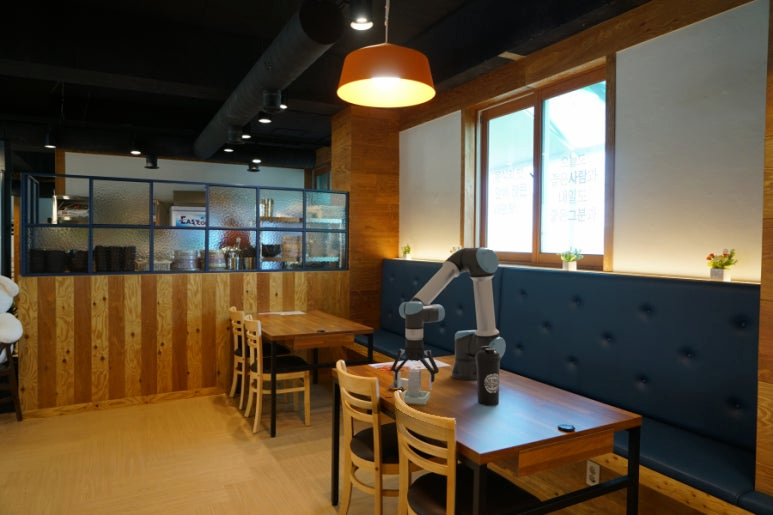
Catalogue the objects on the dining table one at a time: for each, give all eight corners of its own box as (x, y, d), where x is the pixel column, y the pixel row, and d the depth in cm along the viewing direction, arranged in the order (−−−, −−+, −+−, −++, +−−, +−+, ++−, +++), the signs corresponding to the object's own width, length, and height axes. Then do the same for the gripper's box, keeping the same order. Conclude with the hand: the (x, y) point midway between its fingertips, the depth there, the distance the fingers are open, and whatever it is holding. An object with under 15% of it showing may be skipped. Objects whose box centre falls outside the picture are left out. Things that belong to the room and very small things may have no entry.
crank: (392, 385, 237) (392, 375, 237) (395, 384, 240) (395, 374, 240) (415, 389, 230) (415, 379, 230) (419, 388, 232) (419, 377, 232)
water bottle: (482, 407, 208) (482, 350, 207) (471, 400, 217) (471, 346, 217) (505, 405, 210) (505, 349, 210) (493, 398, 220) (493, 344, 220)
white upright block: (410, 397, 221) (410, 369, 221) (421, 397, 220) (420, 369, 219) (408, 400, 216) (408, 371, 216) (419, 400, 215) (418, 372, 215)
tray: (405, 395, 225) (404, 390, 225) (429, 397, 222) (429, 391, 222) (399, 403, 214) (399, 397, 214) (425, 405, 211) (425, 398, 211)
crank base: (392, 386, 241) (391, 384, 241) (404, 386, 240) (404, 384, 240) (388, 389, 235) (388, 387, 235) (401, 390, 234) (401, 388, 234)
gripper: (383, 338, 217) (384, 389, 218) (442, 341, 211) (442, 392, 211) (388, 336, 225) (388, 384, 225) (445, 338, 218) (445, 388, 218)
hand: (414, 388), depth 218 cm, fingers open, 13 cm apart
